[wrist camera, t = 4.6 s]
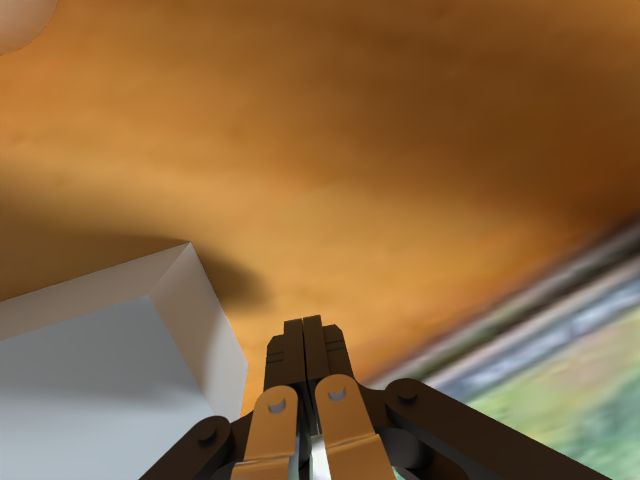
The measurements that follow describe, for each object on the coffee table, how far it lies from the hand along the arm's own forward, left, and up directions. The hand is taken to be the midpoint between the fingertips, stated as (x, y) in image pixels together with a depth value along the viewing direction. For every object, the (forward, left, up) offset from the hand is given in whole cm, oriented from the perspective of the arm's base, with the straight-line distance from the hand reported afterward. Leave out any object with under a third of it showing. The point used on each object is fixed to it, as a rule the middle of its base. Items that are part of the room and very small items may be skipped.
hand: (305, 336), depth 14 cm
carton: (+6, +6, -3) cm, 9 cm away
